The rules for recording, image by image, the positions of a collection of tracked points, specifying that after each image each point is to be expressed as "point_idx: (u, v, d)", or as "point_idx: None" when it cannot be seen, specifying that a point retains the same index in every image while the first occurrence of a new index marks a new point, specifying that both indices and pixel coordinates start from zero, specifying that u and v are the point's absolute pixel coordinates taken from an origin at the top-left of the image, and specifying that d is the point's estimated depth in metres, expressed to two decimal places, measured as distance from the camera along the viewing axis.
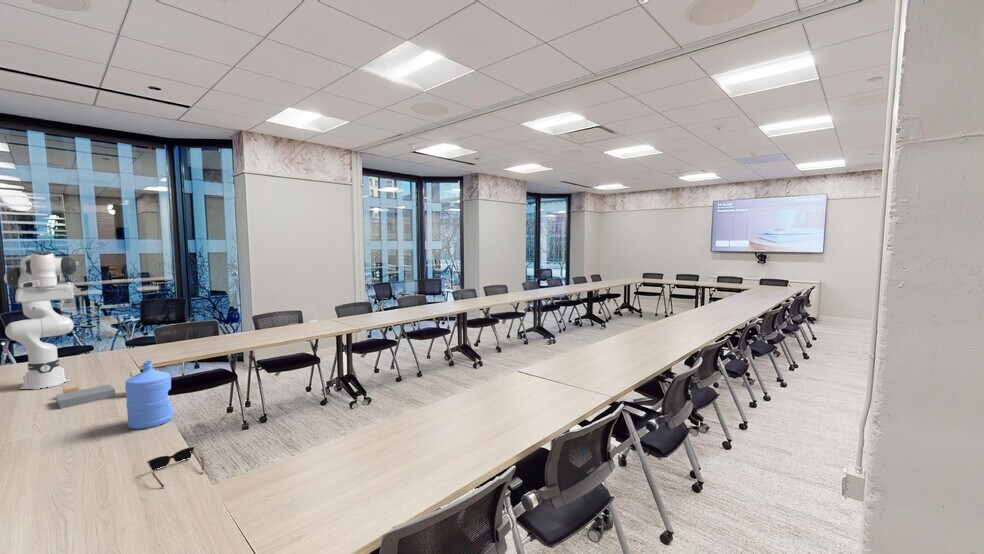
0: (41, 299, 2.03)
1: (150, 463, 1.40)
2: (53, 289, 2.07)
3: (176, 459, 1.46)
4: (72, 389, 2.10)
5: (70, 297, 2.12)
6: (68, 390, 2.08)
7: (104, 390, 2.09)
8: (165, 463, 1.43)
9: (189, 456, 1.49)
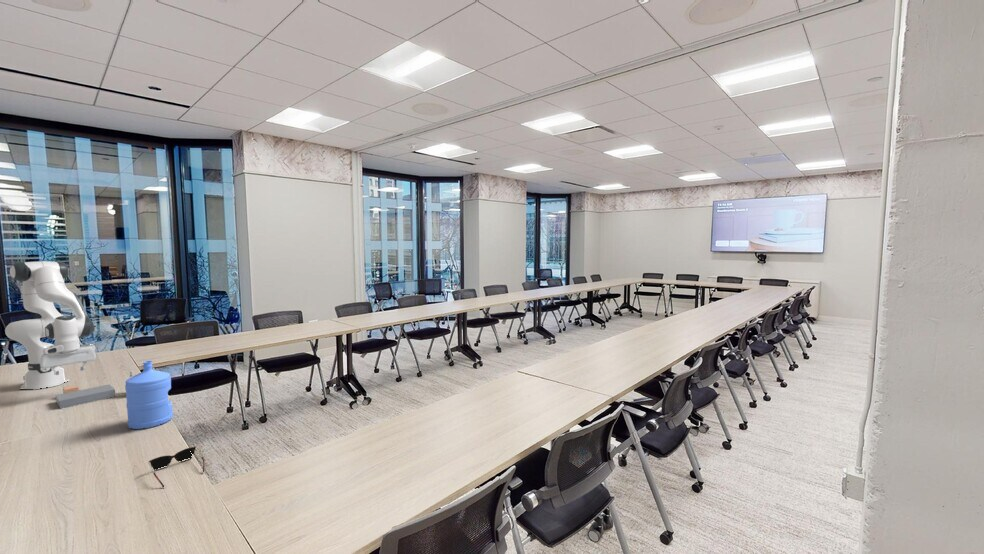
0: (65, 363, 2.07)
1: (152, 463, 1.40)
2: (76, 352, 2.11)
3: (178, 459, 1.46)
4: (72, 389, 2.10)
5: (92, 359, 2.15)
6: (68, 390, 2.08)
7: (104, 390, 2.09)
8: (167, 463, 1.43)
9: None
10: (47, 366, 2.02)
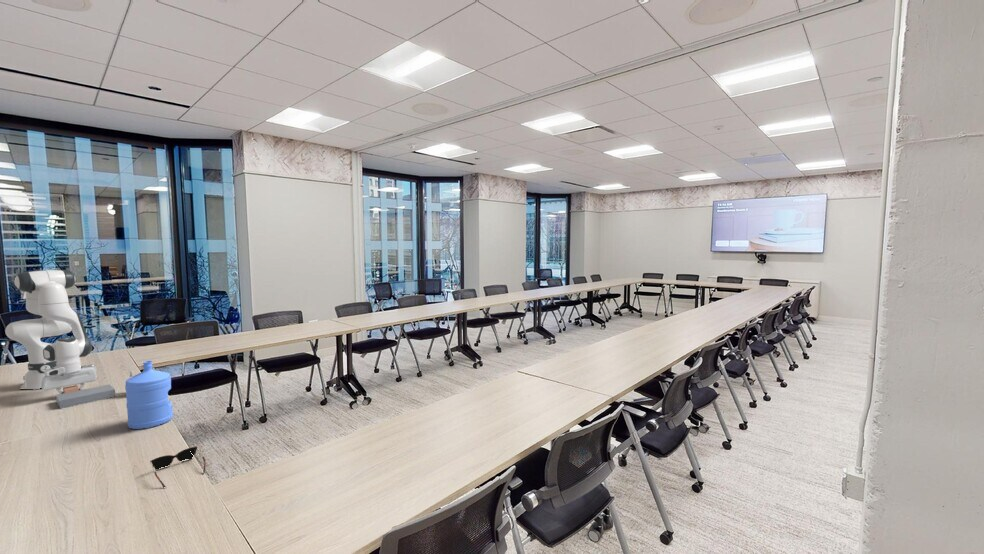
0: (66, 385, 2.08)
1: (153, 462, 1.40)
2: (77, 374, 2.11)
3: (179, 458, 1.46)
4: (72, 389, 2.10)
5: (93, 379, 2.16)
6: (68, 390, 2.08)
7: (104, 390, 2.09)
8: (168, 462, 1.44)
9: (192, 456, 1.49)
10: (48, 388, 2.03)
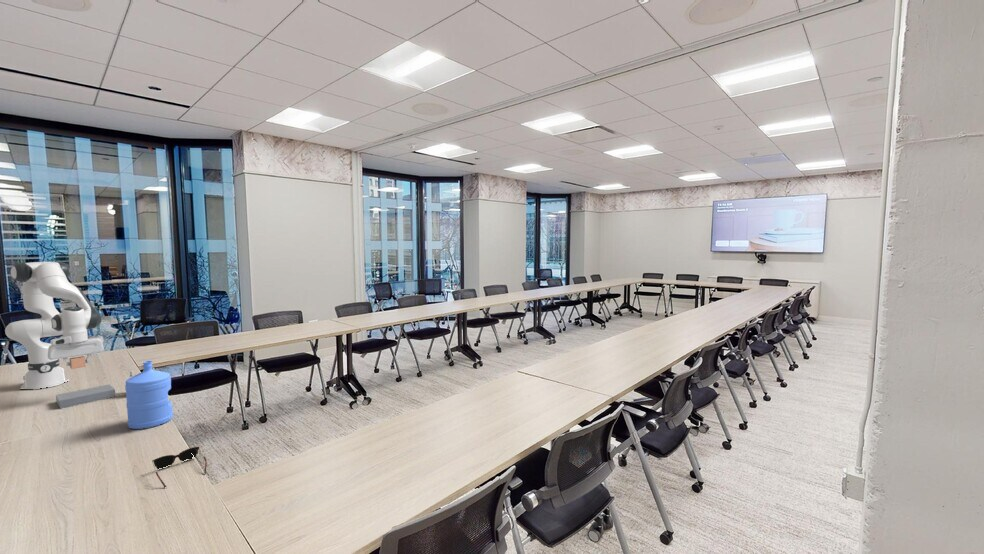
0: (72, 355, 2.04)
1: (155, 462, 1.40)
2: (84, 344, 2.08)
3: (181, 458, 1.46)
4: (79, 359, 2.06)
5: (100, 351, 2.13)
6: (75, 360, 2.05)
7: (104, 390, 2.09)
8: (170, 462, 1.44)
9: (194, 456, 1.49)
10: (55, 357, 2.00)
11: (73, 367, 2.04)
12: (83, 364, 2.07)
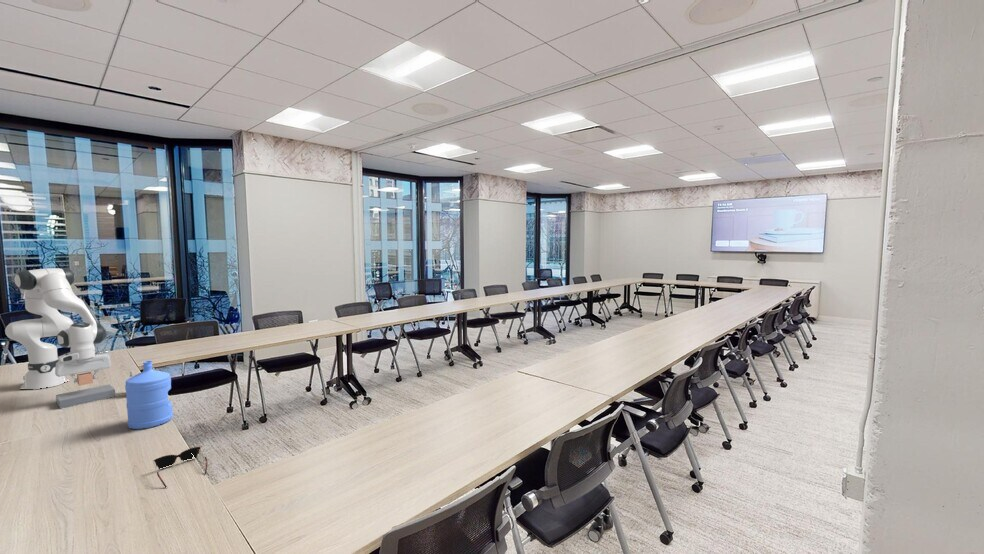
0: (80, 371, 2.03)
1: (156, 462, 1.41)
2: (91, 360, 2.07)
3: (182, 458, 1.46)
4: (86, 375, 2.05)
5: (107, 366, 2.11)
6: (82, 376, 2.03)
7: (104, 390, 2.09)
8: (171, 462, 1.44)
9: (195, 455, 1.49)
10: (62, 374, 1.98)
11: (80, 383, 2.03)
12: (90, 380, 2.06)
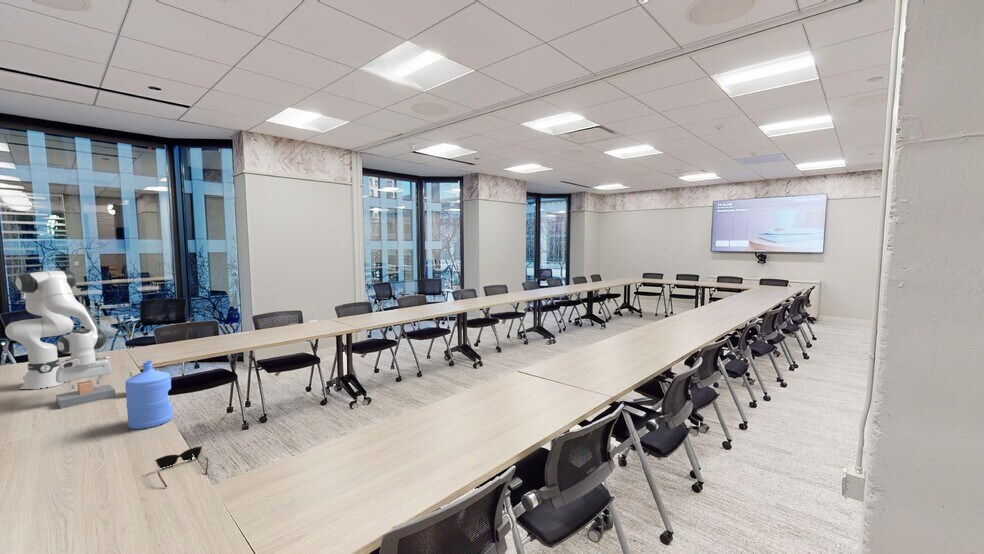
0: (80, 377, 2.04)
1: (158, 461, 1.41)
2: (92, 366, 2.07)
3: (184, 458, 1.46)
4: (87, 384, 2.05)
5: (108, 372, 2.12)
6: (83, 385, 2.04)
7: (104, 390, 2.09)
8: (173, 462, 1.44)
9: (197, 455, 1.49)
10: (63, 380, 1.99)
11: (81, 392, 2.04)
12: (91, 389, 2.06)
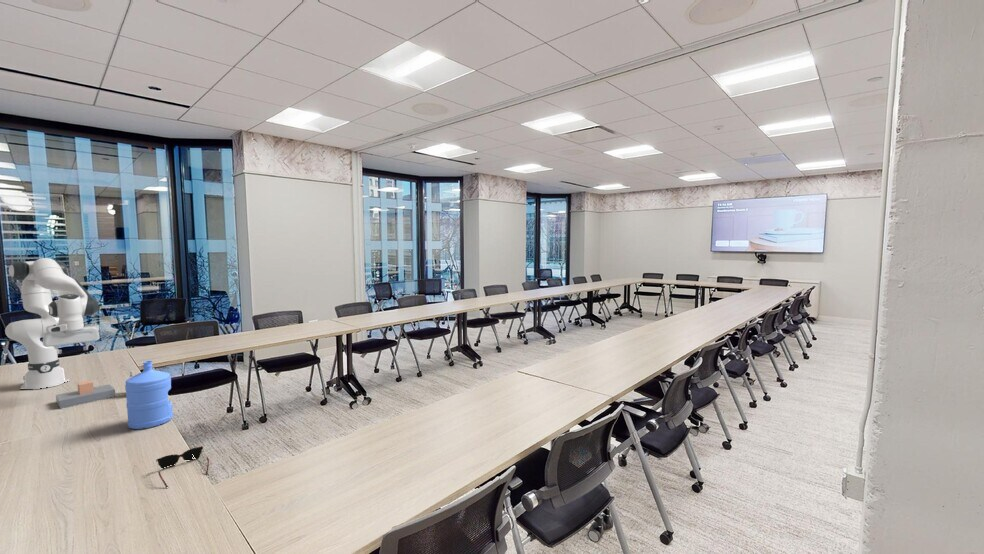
0: (68, 342, 2.04)
1: (159, 461, 1.41)
2: (79, 332, 2.07)
3: (185, 458, 1.46)
4: (87, 384, 2.05)
5: (96, 339, 2.12)
6: (83, 385, 2.04)
7: (104, 390, 2.09)
8: (174, 462, 1.44)
9: (198, 455, 1.49)
10: (50, 345, 1.99)
11: (81, 392, 2.04)
12: (91, 389, 2.06)
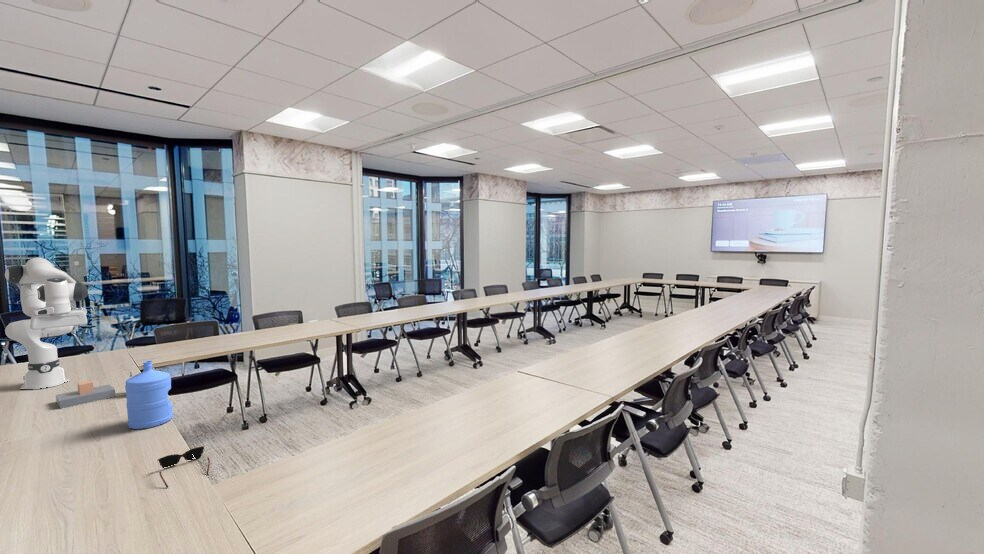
0: (55, 326, 2.06)
1: (160, 461, 1.41)
2: (67, 315, 2.09)
3: (186, 458, 1.47)
4: (87, 384, 2.05)
5: (83, 323, 2.14)
6: (83, 385, 2.04)
7: (104, 390, 2.09)
8: (175, 461, 1.44)
9: (199, 455, 1.49)
10: (37, 328, 2.01)
11: (81, 392, 2.04)
12: (91, 389, 2.06)
